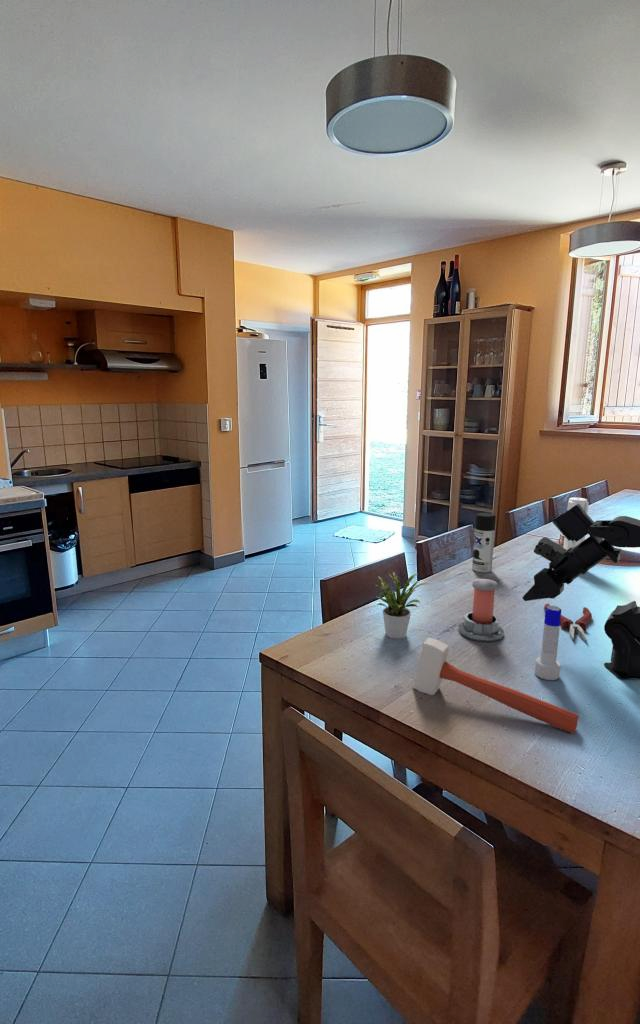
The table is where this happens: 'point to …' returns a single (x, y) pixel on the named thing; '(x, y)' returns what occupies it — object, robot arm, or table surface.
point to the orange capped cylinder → (483, 600)
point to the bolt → (549, 646)
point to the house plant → (397, 607)
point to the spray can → (483, 542)
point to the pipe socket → (480, 629)
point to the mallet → (484, 687)
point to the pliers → (576, 623)
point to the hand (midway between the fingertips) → (529, 593)
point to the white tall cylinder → (584, 505)
